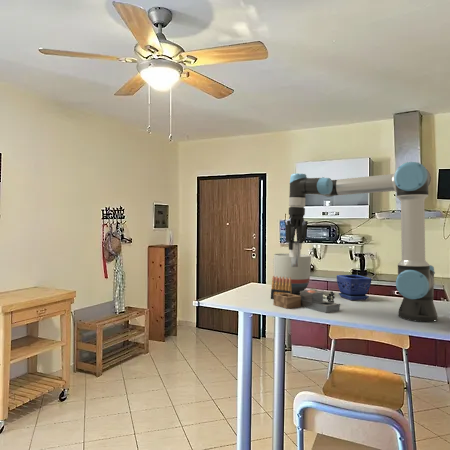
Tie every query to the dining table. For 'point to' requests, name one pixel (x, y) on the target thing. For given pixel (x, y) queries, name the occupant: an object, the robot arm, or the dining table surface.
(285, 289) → the ammunition clip
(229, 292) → the dining table surface
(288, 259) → the planter
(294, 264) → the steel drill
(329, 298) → the valve
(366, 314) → the dining table surface
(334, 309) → the socket block
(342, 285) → the flower pot
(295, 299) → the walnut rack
